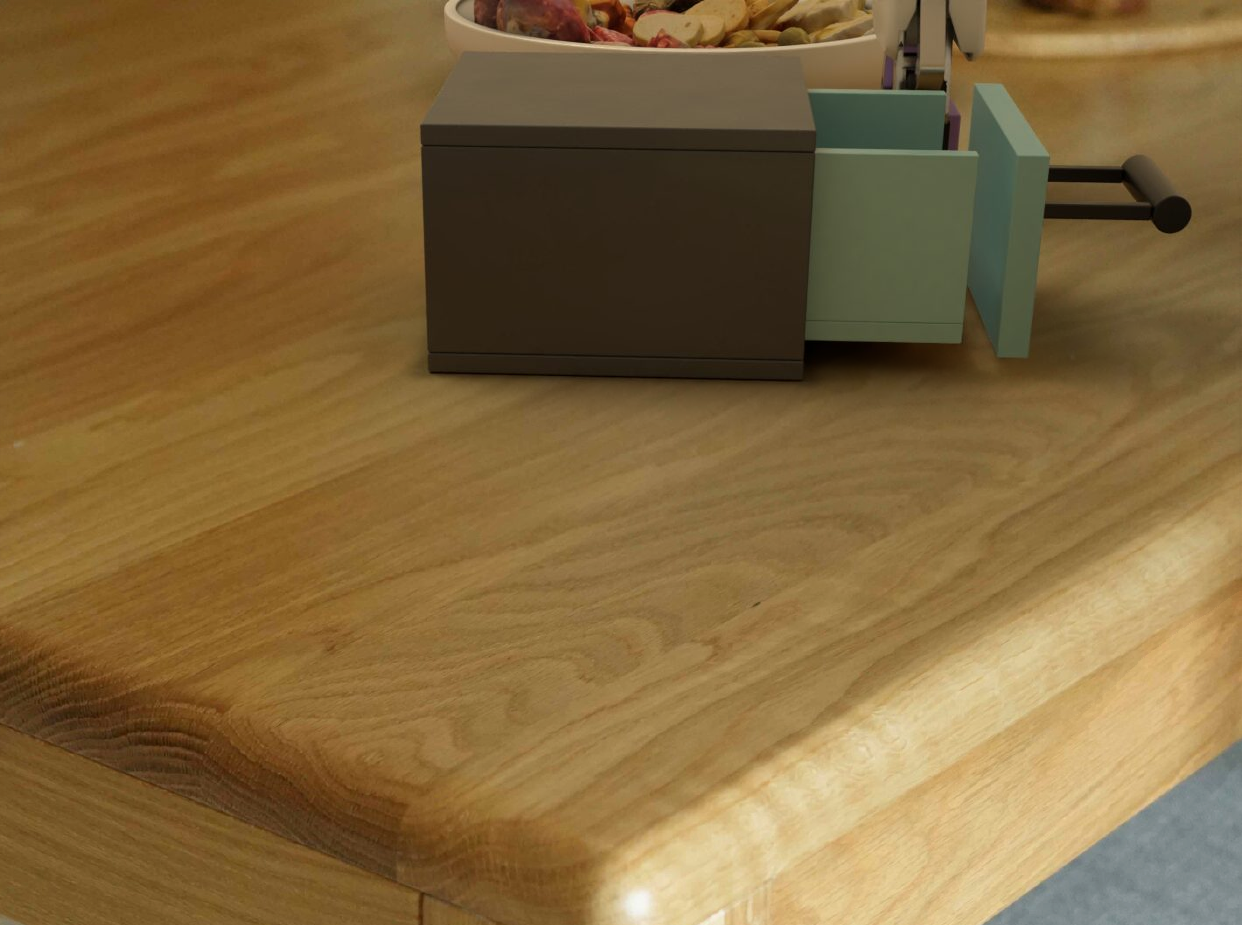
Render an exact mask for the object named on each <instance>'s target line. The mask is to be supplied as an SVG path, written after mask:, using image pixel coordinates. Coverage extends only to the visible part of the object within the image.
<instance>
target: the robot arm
mask: <svg viewBox="0 0 1242 925" xmlns="http://www.w3.org/2000/svg"><path fill="white" fill-rule="evenodd" d="M987 5H988V0H872V6H873V28H874V32H875V35H876V38H877V40H878V42H879V45H880V47H881V49H882V51H883V52H884V57H883V68H882V79H881V90H928V91H945V93H946V95H947V98H946V109H945V121H944V132H943V144H942V150H948V144H949V132H950V121H948V115H949V99H950V98H951V83H952V82H951V80H952V66H953V49H954V48H953V46H954V43H955V45H956V46H957V48H958V50H959V51H960V53H962V54H963V56H964V57H965V59H966V60H967V61H968V62H976V61H977V60H978V59H980V58H981V57H982V56H983V54H984V51H985V42H986V24H987V8H988V6H987ZM953 42H954V43H953Z"/></svg>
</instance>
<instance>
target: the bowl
mask: <svg viewBox="0 0 1242 925" xmlns="http://www.w3.org/2000/svg"><path fill="white" fill-rule="evenodd" d="M443 16H444V31H445V38H446V41H447V45H448V47H449V50H450V53H451V54H452V56H453V58H454V60H455V62H456V63H457V61H458V59H459V58H460V56H461V54H462V52H464V51H483V52H549V53H614V54H679V55H745V56H799V57H800V60H801V64H802V69H803V73H804V78H805V82H806V87H807V89H866V90H881V79H882V68H883V57H884V52H883V51H882V49H881V47H880V45H879V42H878V40H877V38H876V35H875V32H874V28H873V6H872V0H448V1H447V2H446V3H445V5H444V8H443Z"/></svg>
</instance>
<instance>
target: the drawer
mask: <svg viewBox="0 0 1242 925" xmlns="http://www.w3.org/2000/svg"><path fill="white" fill-rule="evenodd" d="M807 91H808V95H809V100H810V104H811V109H812V113H813V118H814V122H815V126H816V131H817V138H816V151H815V173H814V190H813V208H812V225H811V242H810V260H809V277H808V295H807V312H806V330H805V341H820V342H821V341H823V342H824V341H825V342H864V343H865V342H867V343H868V342H869V343H871V342H872V343H873V342H874V343H911V344H913V343H915V344H916V343H918V344H920V343H921V344H925V343H926V344H962V342H963V331H964V320H965V310H966V300H967V291H968V290H969V292H970V293H971V296H972V298H973V301H974V303H975V306H976V310H977V311H978V313H979V316H980V319H981V320H982V323H983V325H984V328H985V331H986V334H987V336H988V338H989V340H990V343H991V345H992V348H993V351H994V353H995V356H996V358H1002V359H1003V358H1005V359H1006V358H1007V359H1028V358H1029V353H1030V351H1029V350H1030V344H1031V343H1030V342H1031V336H1032V335H1031V333H1032V325H1033V316H1034V307H1035V299H1036V290H1037V281H1038V280H1037V279H1038V270H1039V261H1040V254H1041V253H1040V252H1041V246H1042V245H1041V243H1042V234H1043V228H1044V227H1043V226H1044V220H1045V219H1046V220H1089V221H1090V220H1093V221H1096V220H1097V221H1145V222H1146V221H1147V222H1148V221H1151V222H1152V224H1153V225H1154V227H1155V228H1156V229H1157V230H1158V231H1159V232H1161V233H1163V234H1167V235H1173V234H1177V233H1180V232H1182V231H1183V230H1184V229H1185V228H1186V227H1187V226H1188V225H1189V224H1190V221H1191V220H1192V215H1193V209H1192V206H1191V203H1190V202H1189V201H1188V200H1187V198H1186V197H1185V196H1184V195H1183V194H1182V192H1180V190H1179V189H1178V188H1177V187H1176V185H1175V184H1174V183H1173V182H1172V181H1171V180H1170V179H1169V177H1168V176H1167V175H1166V174H1165V173H1164V172H1163V170H1162V169H1161V168H1160V167H1159V166H1158V165H1157V164H1156V162H1155V161H1154V160H1153V159H1152V158H1151V157H1150V156H1149V155H1145V154H1135V155H1132V156H1130V157H1127V159H1126V160H1125V161H1124V162H1123V163H1122V165H1083V164H1082V165H1081V164H1076V165H1075V164H1073V165H1071V164H1050V162H1051V155H1050V154H1049V152H1048V151H1047V148H1045V146H1044V145H1043V142H1042V141H1041V140H1040V139H1039V137H1038V136H1037V134H1036V133H1035V132H1034V131H1035V130H1033V128H1032V127H1031V125H1030V123H1029V122H1028V120H1027V119H1026V117H1025V116H1024V114H1023V113H1022V111H1021V110H1020V108H1019V107H1018V106H1017V104H1016V103H1015V101H1014V99H1013V97H1012V96H1011V95H1010V94H1009V92H1008V91H1007V89H1006V87H1005V86H1004V84H1003V83H995V82H994V83H992V82H991V83H990V82H989V83H988V82H987V83H985V82H975V83H974V84H973V92H972V103H971V104H972V105H971V115H970V126H969V138H968V148H967V150H958V151H949V150H942V144H943V132H944V121H945V109H946V98H947V95H946V93H945V91H928V90H866V89H807ZM1048 183H1082V184H1083V183H1086V184H1087V183H1088V184H1092V183H1093V184H1122V185H1123V186H1124V187H1125V189H1126V190H1127V191H1128V193H1129V194H1130V196H1131V197H1132V199H1133V200H1134V201H1095V200H1094V201H1092V200H1091V201H1090V200H1089V201H1088V200H1046V198H1047V192H1048V190H1047V188H1048ZM968 288H969V289H968ZM967 289H968V290H967Z"/></svg>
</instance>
